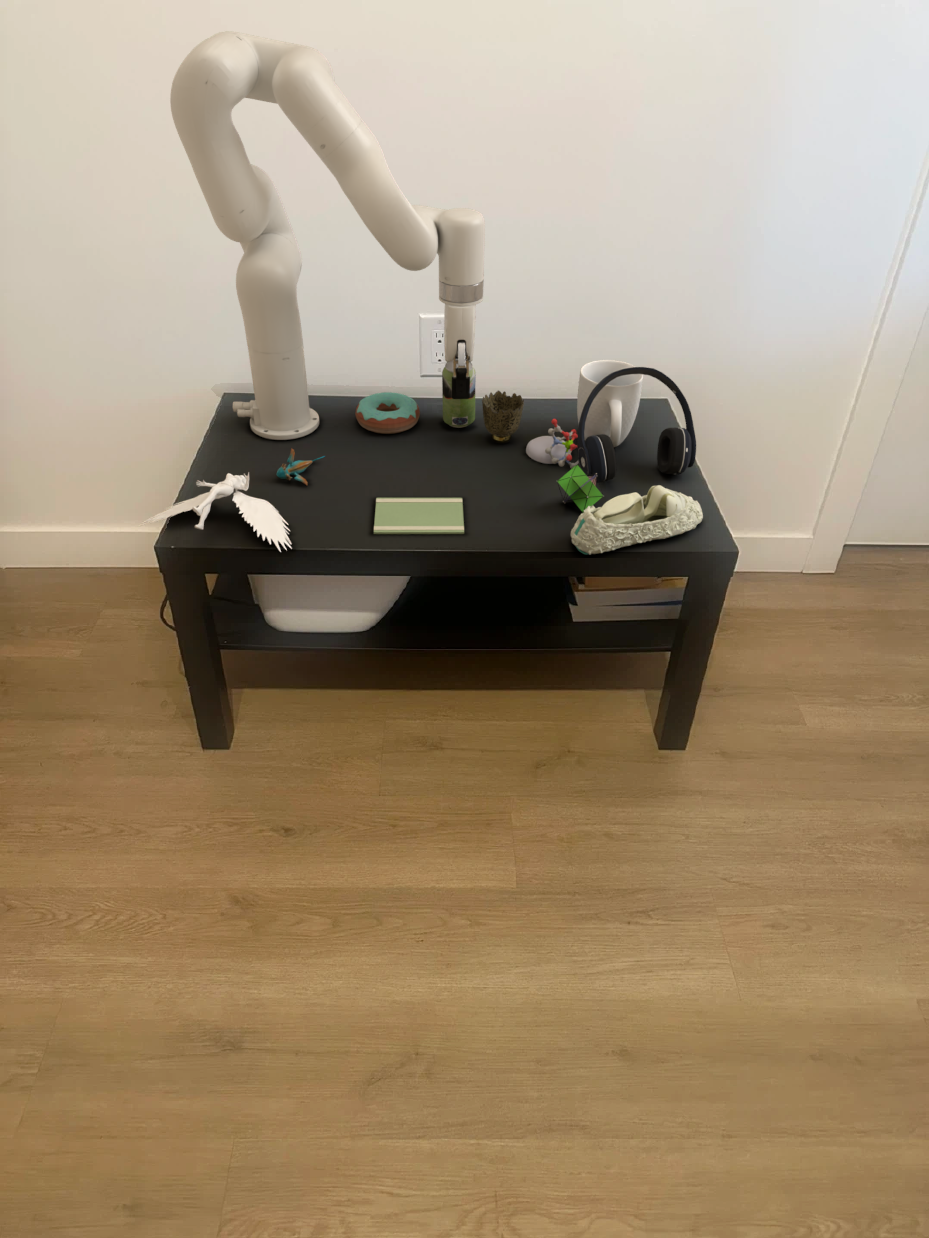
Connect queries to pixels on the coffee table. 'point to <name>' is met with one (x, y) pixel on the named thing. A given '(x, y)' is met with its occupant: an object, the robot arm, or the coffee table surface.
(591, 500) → the green polyhedron model
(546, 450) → the molecular model
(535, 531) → the coffee table surface
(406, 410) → the donut
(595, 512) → the ballet flat
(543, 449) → the white pebble
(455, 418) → the beverage can
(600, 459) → the earphone
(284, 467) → the dragon figurine
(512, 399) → the cup
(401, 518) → the towel mat
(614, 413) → the mug
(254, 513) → the figurine
